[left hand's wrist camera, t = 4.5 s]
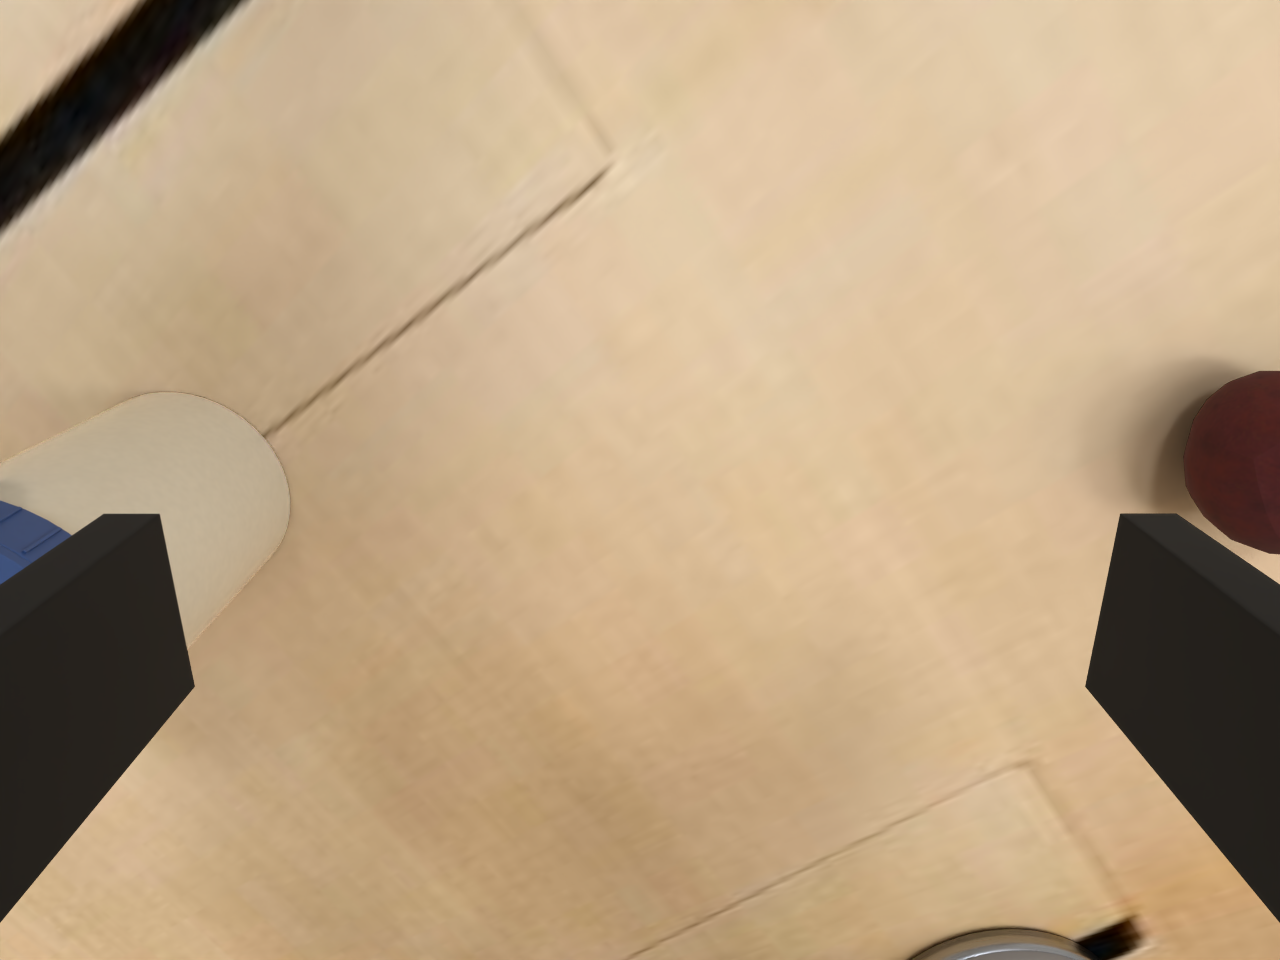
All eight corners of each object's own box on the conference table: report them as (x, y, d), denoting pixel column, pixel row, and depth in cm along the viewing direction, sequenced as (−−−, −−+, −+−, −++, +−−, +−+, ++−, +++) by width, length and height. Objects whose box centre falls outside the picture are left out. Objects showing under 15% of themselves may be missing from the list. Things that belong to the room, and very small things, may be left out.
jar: (268, 608, 44) (84, 838, 29) (68, 549, 43) (-227, 757, 28) (310, 431, 41) (126, 590, 26) (95, 362, 40) (-221, 487, 25)
